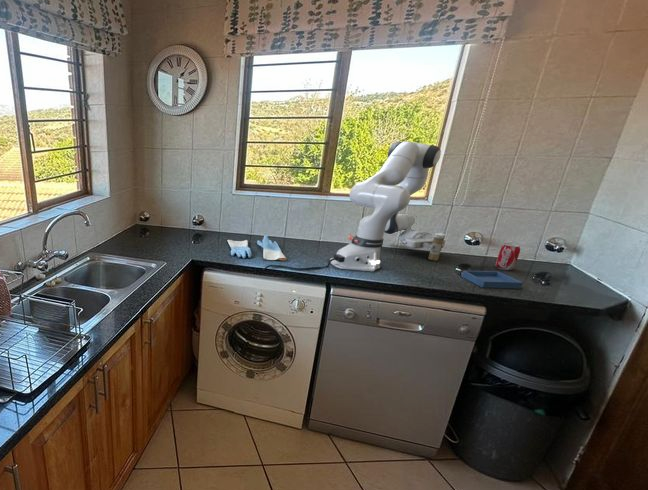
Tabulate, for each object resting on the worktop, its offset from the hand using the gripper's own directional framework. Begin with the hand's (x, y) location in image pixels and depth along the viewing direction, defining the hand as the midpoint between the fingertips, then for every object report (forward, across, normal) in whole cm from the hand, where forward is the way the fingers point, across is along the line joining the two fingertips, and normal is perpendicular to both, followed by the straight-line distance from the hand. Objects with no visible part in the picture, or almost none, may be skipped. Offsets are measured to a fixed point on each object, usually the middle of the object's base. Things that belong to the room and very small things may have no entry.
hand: (438, 246), depth 202 cm
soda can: (+18, +22, +7) cm, 29 cm away
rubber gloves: (-34, -83, +7) cm, 90 cm away
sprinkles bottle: (-1, 0, +7) cm, 7 cm away
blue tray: (+30, -3, +7) cm, 31 cm away
